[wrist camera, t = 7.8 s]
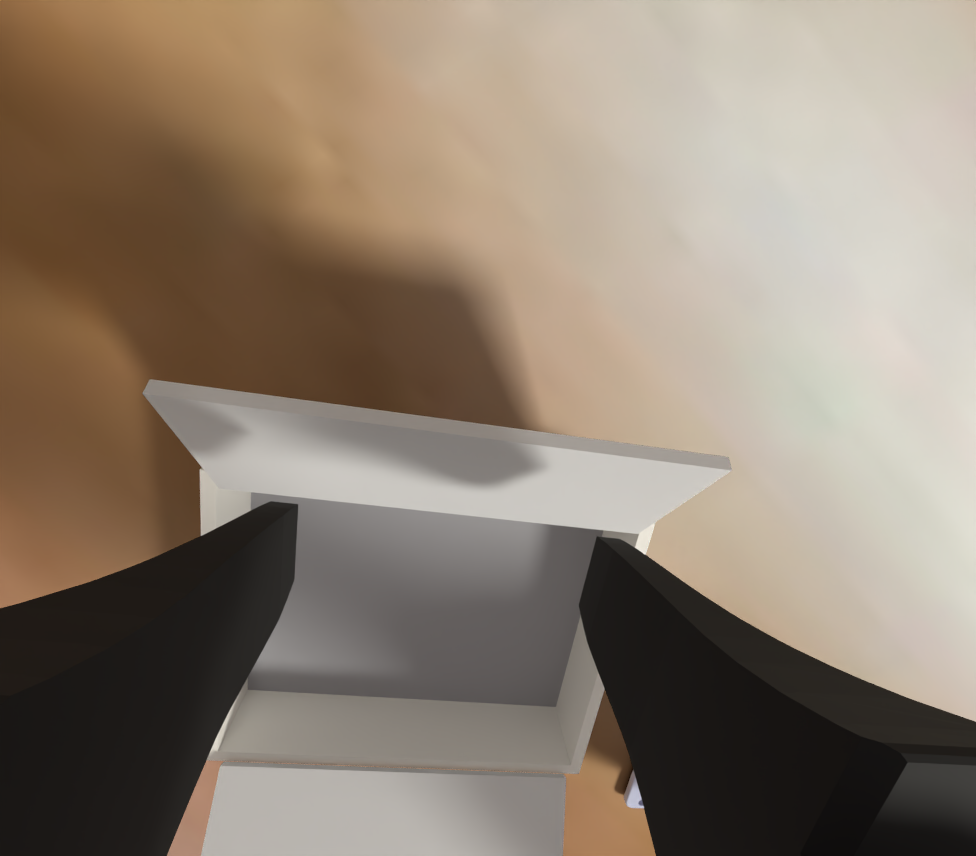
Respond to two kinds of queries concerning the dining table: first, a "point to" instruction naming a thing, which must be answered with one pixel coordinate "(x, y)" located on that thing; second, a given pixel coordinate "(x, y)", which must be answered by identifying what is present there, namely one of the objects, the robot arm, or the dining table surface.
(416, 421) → the near flap
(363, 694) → the carton
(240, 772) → the far flap
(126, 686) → the robot arm
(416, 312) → the dining table surface
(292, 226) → the dining table surface
